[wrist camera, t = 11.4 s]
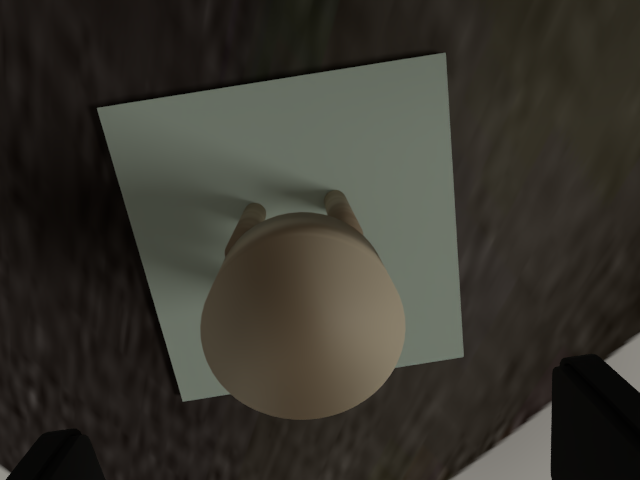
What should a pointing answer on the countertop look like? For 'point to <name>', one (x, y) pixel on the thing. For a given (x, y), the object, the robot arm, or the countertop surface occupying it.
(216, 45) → the countertop surface
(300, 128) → the sage mat
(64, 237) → the countertop surface
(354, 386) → the round tan stool
